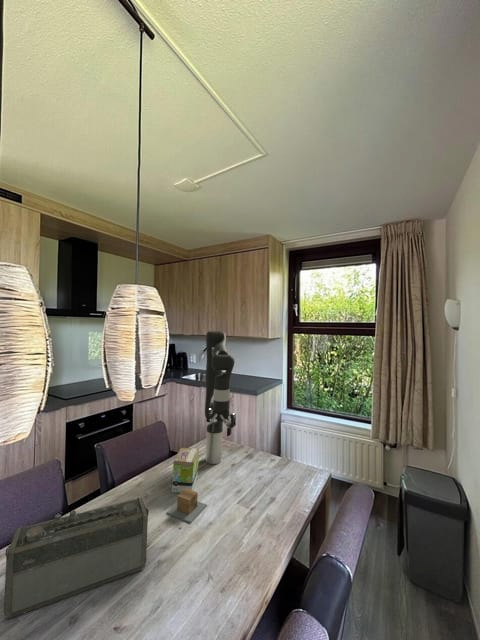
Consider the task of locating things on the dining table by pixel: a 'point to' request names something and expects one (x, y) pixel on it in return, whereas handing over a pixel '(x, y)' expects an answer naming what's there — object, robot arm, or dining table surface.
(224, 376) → the robot arm
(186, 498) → the walnut cube
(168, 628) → the dining table surface
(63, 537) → the radio
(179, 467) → the tea box
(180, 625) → the dining table surface
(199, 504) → the coaster
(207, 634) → the dining table surface
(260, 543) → the dining table surface
